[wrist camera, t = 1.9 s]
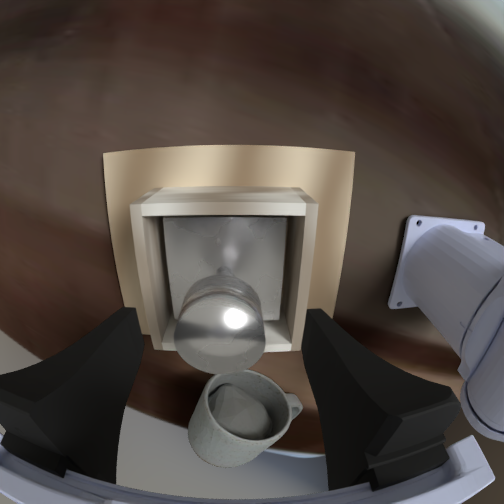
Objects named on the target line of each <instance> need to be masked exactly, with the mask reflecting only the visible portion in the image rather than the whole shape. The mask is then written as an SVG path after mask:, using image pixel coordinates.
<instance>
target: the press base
mask: <svg viewBox="0 0 504 504" xmlns="http://www.w3.org/2000/svg"><path fill="white" fill-rule="evenodd" d="M103 159H104V176H105V188H106V199H107V208H108V216H109V224H110V231H111V238H112V245H113V251H114V257H115V262H116V268H117V273H118V278H119V283H120V288H121V292H122V297H123V301H124V305H125V307H135V308H136V311H137V315H138V320H139V324H140V328H141V332H142V334H147V335H151V338H152V342H153V347H154V349H155V350H170V351H177V350H176V347H175V344H174V332H175V328H176V324H177V321H178V319H175V318H174V311H173V305H172V297H171V290H170V282H169V274H168V266H167V257H166V247H165V236H164V224H163V217H164V216H166V215H285V216H286V218H287V220H286V236H285V251H284V265H283V279H282V292H281V304H280V315H279V320H263V323H264V331H265V338H266V345H265V350H264V352H281V351H300V349H301V343H302V337H303V331H304V325H305V318H306V311H307V309H317V308H321V309H322V310H323V311H324V312H325V313H327V314H328V315H329V316H330V317H331V318H333V313H334V308H335V303H336V298H337V292H338V287H339V281H340V275H341V269H342V263H343V257H344V250H345V243H346V236H347V229H348V221H349V213H350V204H351V194H352V184H353V172H354V159H355V152H350V151H341V150H331V149H320V148H307V147H291V146H268V145H198V146H176V147H160V148H147V149H136V150H126V151H117V152H109V153H103Z"/></svg>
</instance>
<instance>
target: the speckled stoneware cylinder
mask: <svg viewBox="0 0 504 504" xmlns="http://www.w3.org/2000/svg"><path fill="white" fill-rule="evenodd" d="M302 409H303V405H302V404H301V402H300V400H299V399H298V397H297V396H296V395H295V394H292V393H286V394H285V393H284V391H283V390H282V389H281V388H280V387H279V386H278V385H277V384H276V383H275V382H274V381H272V380H271V379H270V378H268V377H267V376H265V375H262V374H260V373H258V372H255V371H252V370H248V369H246V370H243V371H241V372H238V373H233V374H215V375H214V376H212V377H211V378H210V379H209V380H208V382H207V384H206V385H205V388H204V390H203V392H202V395H201V397H200V399H199V401H198V403H197V406H196V408H195V411H194V413H193V415H192V417H191V419H190V422H189V426H188V438H189V442H190V444H191V446H192V448H193V450H194V451H195V453H196V454H197V455H198V456H199V457H200V458H201V459H202V460H204V461H205V462H207V463H209V464H212V465H214V466H217V467H225V468H227V467H228V468H231V467H237V466H240V465H243V464H245V463H248V462H249V461H251V460H252V459H254V458H255V457H256V456H258V455H259V454H260V453H261V452H262V451H264V450H265V449H267V448H268V447H269V446H271V445H272V444H273V443H274V442H276V441H277V440H278V439H280V438H281V437H282V435H283V434H284V433H285V432H286V431H287V430H288V427H289V425H290V423H291V420H293V419H294V418H295V417H296V416H297V415H298V414H299V413H300V412H301V410H302Z"/></svg>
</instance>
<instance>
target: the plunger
mask: <svg viewBox="0 0 504 504" xmlns="http://www.w3.org/2000/svg"><path fill="white" fill-rule="evenodd" d="M286 220H287V218H286V216H285V215H166V216H164V217H163V224H164V236H165V247H166V257H167V266H168V274H169V282H170V290H171V297H172V305H173V311H174V318H175V319H178V321H177V324H176V328H175V332H174V344H175V347H176V350H177V352H178V353H179V355H180V356H181V357H182V358H183V359H184V360H185V361H186V362H187V363H188V364H190V365H191V366H193V367H194V368H196V369H198V370H201V371H204V372H207V373H212V374H233V373H238V372H241V371H243V370H246V369H248V368H249V367H251V366H252V365H254V364H255V363H256V362H257V361H258V360H259V359H260V358H261V356H262V354H263V353H264V350H265V345H266V338H265V331H264V323H263V320H279V315H280V304H281V292H282V279H283V265H284V251H285V236H286Z"/></svg>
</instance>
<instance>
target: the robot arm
mask: <svg viewBox="0 0 504 504" xmlns="http://www.w3.org/2000/svg"><path fill="white" fill-rule="evenodd" d="M418 220H419V223H418V224H416V223H417V221H418ZM474 226H475V227H474ZM484 229H485V224H484V223H483V222H480V221H471V220H462V219H452V218H441V217H430V216H417V215H411V216H409V217H408V219H407V222H406V227H405V233H404V238H403V243H402V248H401V253H400V257H399V262H398V266H397V270H396V274H395V278H394V282H393V286H392V290H391V294H390V297H389V301H388V306H389V308H390V309H400V308H409V307H419V309H420V310H421V311H422V312H423V313H424V314H425V315H426V317H427V318H428V319H429V320H430V321H431V322H432V324H433V325H434V326H435V327H436V328H437V330H438V331H439V332H440V333H441V334H442V336H443V337H444V338H445V339H446V341H447V342H448V343H449V344H450V346H451V347H452V348H453V349H454V351H455V352H456V353H457V354H458V356H459V357H460V358H461V364H460V366H459V368H458V372H459V373H460V374H461V376H462V377H463V379H464V380H465V382H464V383H463V385H462V388H461V393H460V401H461V404H460V402H459V400H458V399H457V397H456V396H455V394H454V392H453V391H452V389H451V388H450V387H448V386H445V385H441V384H438V383H434V382H431V381H428V380H425V379H422V378H420V377H417V376H414V375H412V374H410V373H408V372H405V371H403V370H401V369H399V368H397V367H395V366H394V365H392V364H390V363H388V362H386V361H385V360H383V359H382V358H380V357H378V356H377V355H375V354H374V353H372V352H371V351H369V350H368V349H367V348H365V347H364V346H363V345H362V344H360V343H359V342H358V341H356V340H355V339H354V338H353V337H352V336H350V335H349V334H348V333H347V332H346V331H345V330H344V329H343V328H341V327H340V326H339V325H338V324H337V323H336V322H335V321H334V320H333V319H332V318H331V317H330V316H329V315H328V314H327V313H325V312H324V311H323V310H322V309H321V308H317V309H307V311H306V318H305V325H304V331H303V338H302V344H301V348H302V354H303V360H304V365H305V369H306V372H307V375H308V379H309V382H310V385H311V388H312V391H313V394H314V398H315V401H316V404H317V408H318V411H319V416H320V421H321V427H322V433H323V440H324V447H325V454H326V463H327V474H328V486H329V491H326V492H321V493H315V494H307V495H300V496H291V497H282V498H268V499H239V500H237V499H234V500H232V499H230V500H229V499H206V498H192V497H182V496H174V495H166V494H160V493H154V492H148V491H143V490H137V489H132V488H128V487H124V486H120V485H116V466H117V453H118V443H119V435H120V430H121V424H122V419H123V413H124V409H125V406H126V402H127V399H128V397H129V394H130V391H131V388H132V385H133V383H134V380H135V377H136V374H137V371H138V369H139V366H140V363H141V358H142V354H143V349H144V340H143V336H142V332H141V328H140V324H139V320H138V315H137V311H136V308H135V307H122V308H121V309H119V310H118V311H116V312H115V313H114V314H113V315H111V316H110V317H109V318H107V319H106V320H105V321H104V322H102V323H101V324H100V325H99V326H97V327H96V328H95V329H93V330H92V331H91V332H89V333H88V334H87V335H85V336H84V337H83V338H81V339H80V340H78V341H77V342H76V343H74V344H73V345H71V346H69V347H68V348H66V349H65V350H63V351H61V352H59V353H58V354H56V355H54V356H52V357H50V358H48V359H46V360H43V361H41V362H39V363H37V364H35V365H32V366H29V367H27V368H24V369H21V370H18V371H14V372H10V373H6V374H2V375H0V424H1V425H2V426H3V427H4V428H5V430H6V432H5V435H3V434H1V433H0V492H1V493H2V494H4V495H5V496H7V497H8V498H10V499H12V500H13V501H14V502H16V503H18V504H461V503H463V502H464V501H466V500H467V499H469V498H470V497H472V496H473V495H475V494H476V493H478V492H479V491H480V490H482V489H483V488H485V487H486V486H487V485H489V484H490V483H492V482H493V481H494V480H495V477H494V475H493V473H492V470H491V468H490V467H489V464H488V462H487V461H486V459H485V457H484V455H483V453H482V451H481V449H480V447H479V445H478V443H477V442H476V440H475V438H474V437H473V435H470V436H468V437H466V438H464V439H462V440H460V441H458V442H456V443H454V444H452V445H451V446H449V447H448V448H447V449H445V447H444V445H443V443H444V442H445V441H446V438H445V436H444V434H443V433H444V431H445V430H446V429H447V428H448V427H449V425H450V424H451V423H452V422H453V421H454V419H455V418H456V416H457V415H458V413H459V411H460V408H461V406H462V408H463V412H464V414H465V416H466V418H467V419H468V421H469V422H470V424H471V425H472V426H473V427H474V429H476V430H477V431H478V432H479V433H481V434H482V435H484V436H485V437H488V438H490V439H494V440H498V441H502V442H504V246H502V245H500V244H499V243H497V242H495V241H494V240H492V239H490V238H489V237H487V236H485V235H483V234H484ZM398 302H399V303H398ZM397 303H398V304H397Z"/></svg>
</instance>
